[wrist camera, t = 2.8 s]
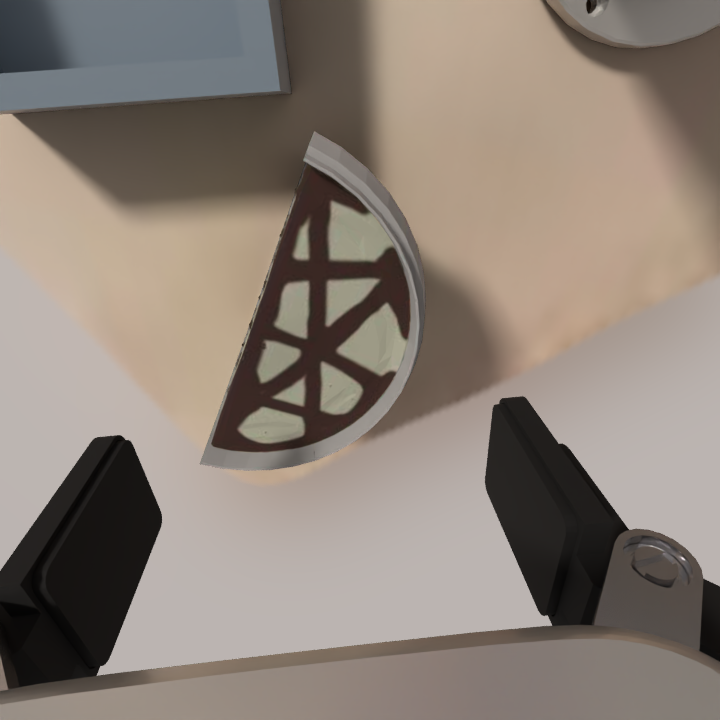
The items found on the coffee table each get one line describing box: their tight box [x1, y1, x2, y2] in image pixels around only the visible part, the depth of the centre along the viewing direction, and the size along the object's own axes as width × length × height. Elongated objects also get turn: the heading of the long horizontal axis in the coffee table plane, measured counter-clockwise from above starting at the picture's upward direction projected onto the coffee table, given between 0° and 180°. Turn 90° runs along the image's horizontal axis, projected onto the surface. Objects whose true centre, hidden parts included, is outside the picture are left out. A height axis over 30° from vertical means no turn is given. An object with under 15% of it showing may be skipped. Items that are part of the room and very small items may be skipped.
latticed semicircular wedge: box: [200, 131, 426, 471], centre depth 19 cm, size 12×6×10 cm, turn 156°
